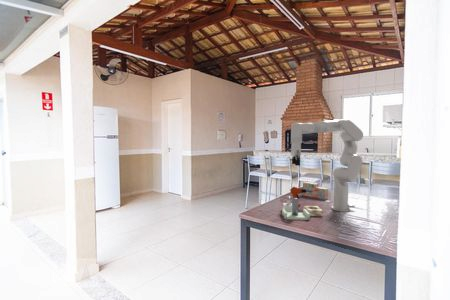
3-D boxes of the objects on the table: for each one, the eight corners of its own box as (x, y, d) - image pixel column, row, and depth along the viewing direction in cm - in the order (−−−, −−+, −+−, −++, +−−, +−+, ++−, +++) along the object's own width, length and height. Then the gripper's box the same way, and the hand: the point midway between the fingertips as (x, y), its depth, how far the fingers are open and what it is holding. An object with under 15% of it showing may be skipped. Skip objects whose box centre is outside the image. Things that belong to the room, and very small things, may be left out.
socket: (317, 211, 165) (317, 206, 165) (322, 216, 155) (322, 210, 155) (303, 211, 166) (303, 205, 165) (307, 215, 156) (307, 210, 155)
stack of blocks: (328, 198, 202) (328, 184, 201) (325, 199, 198) (325, 185, 197) (305, 194, 217) (305, 181, 217) (302, 195, 213) (302, 182, 213)
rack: (305, 214, 158) (305, 209, 157) (309, 219, 148) (309, 213, 148) (281, 214, 159) (282, 208, 159) (284, 219, 149) (284, 213, 149)
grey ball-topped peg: (291, 209, 167) (291, 195, 167) (292, 211, 163) (292, 197, 162) (284, 209, 168) (285, 195, 167) (286, 210, 163) (286, 197, 163)
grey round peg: (297, 213, 155) (297, 197, 155) (298, 215, 151) (299, 199, 151) (291, 213, 155) (291, 197, 155) (292, 215, 151) (292, 199, 151)
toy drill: (312, 208, 168) (310, 187, 169) (289, 205, 182) (288, 187, 183) (315, 206, 171) (313, 186, 172) (293, 204, 185) (291, 186, 186)
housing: (292, 209, 169) (292, 203, 168) (294, 212, 162) (294, 205, 161) (282, 209, 169) (282, 202, 169) (284, 212, 162) (284, 205, 162)
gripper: (288, 140, 169) (287, 163, 170) (293, 140, 152) (293, 166, 153) (298, 140, 169) (298, 163, 170) (305, 140, 152) (304, 166, 152)
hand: (295, 164), depth 161 cm, fingers open, 9 cm apart
